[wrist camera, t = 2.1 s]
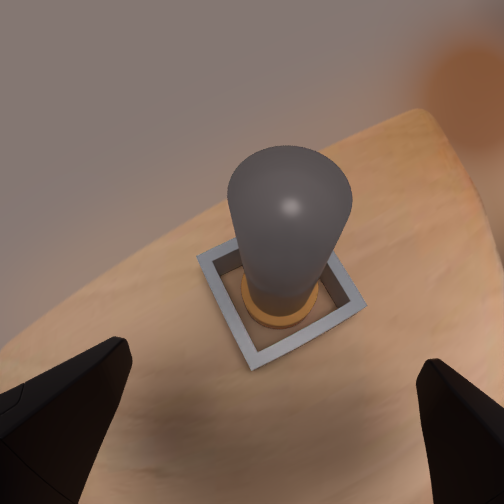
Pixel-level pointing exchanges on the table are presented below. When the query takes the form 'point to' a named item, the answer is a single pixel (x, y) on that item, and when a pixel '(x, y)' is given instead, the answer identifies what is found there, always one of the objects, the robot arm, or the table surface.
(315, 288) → the plug
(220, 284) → the socket
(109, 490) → the table surface
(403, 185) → the table surface
